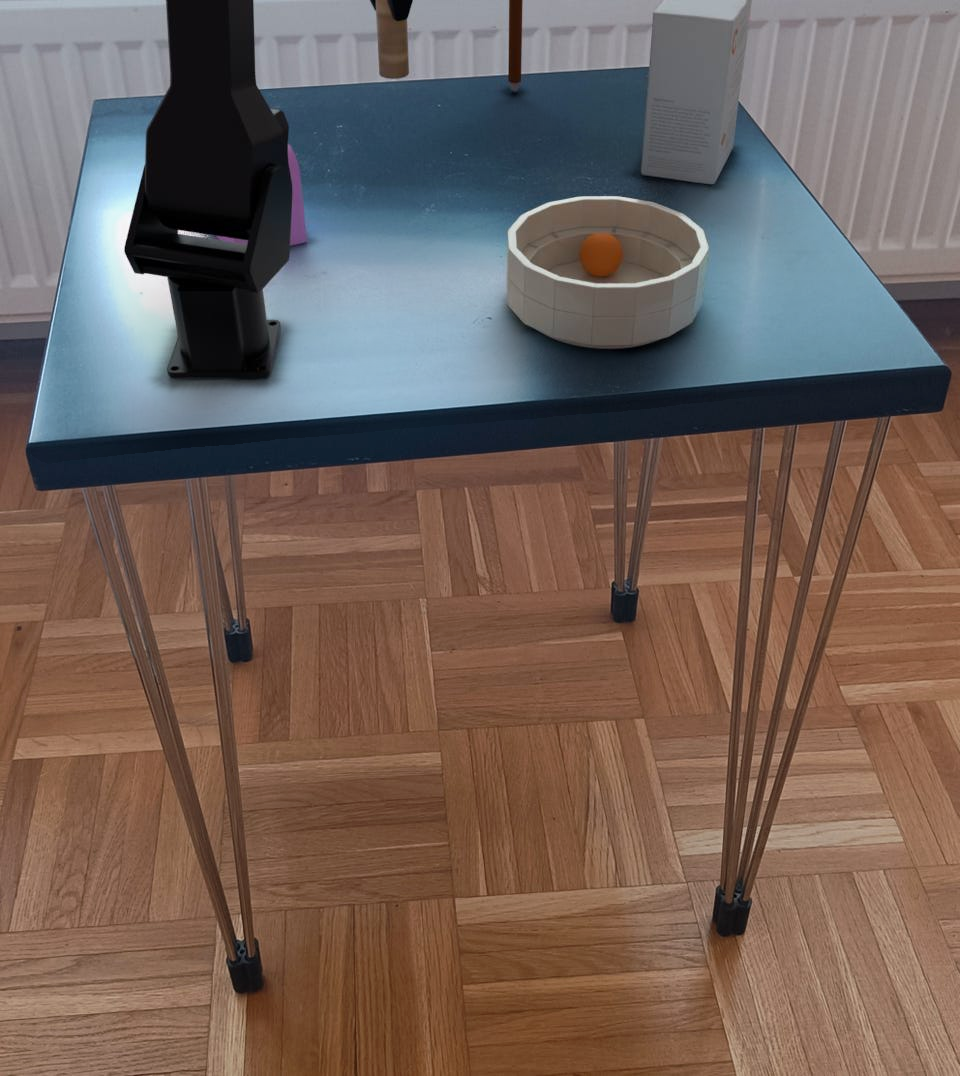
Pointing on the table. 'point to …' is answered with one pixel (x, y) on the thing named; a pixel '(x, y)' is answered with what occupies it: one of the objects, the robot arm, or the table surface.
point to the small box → (693, 87)
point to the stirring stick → (391, 43)
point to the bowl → (617, 299)
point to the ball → (601, 254)
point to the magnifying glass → (515, 43)
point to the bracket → (297, 206)
